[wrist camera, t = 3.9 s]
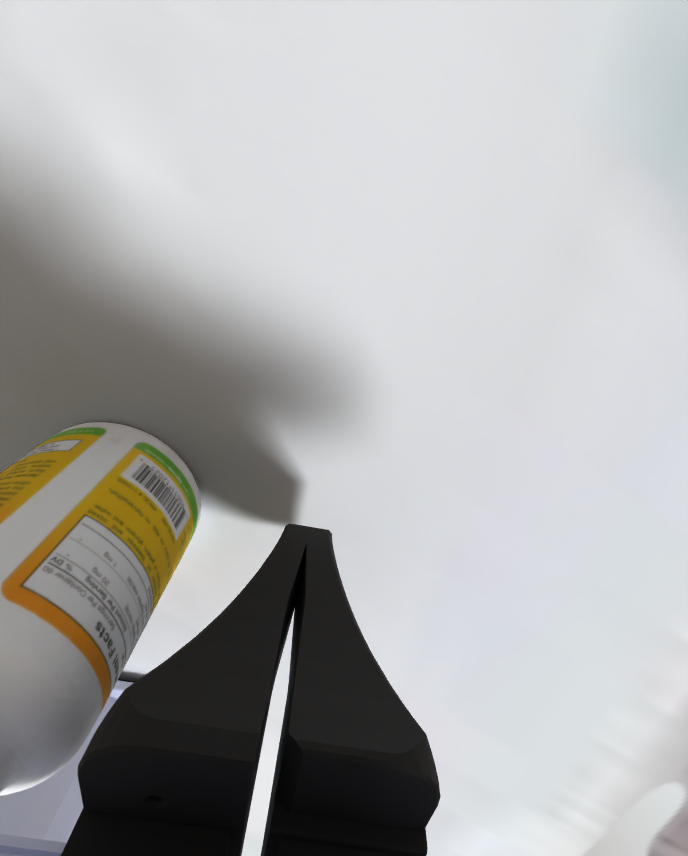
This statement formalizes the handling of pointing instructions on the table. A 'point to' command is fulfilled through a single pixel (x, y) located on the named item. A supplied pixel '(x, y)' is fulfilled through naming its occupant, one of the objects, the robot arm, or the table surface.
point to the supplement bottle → (80, 581)
